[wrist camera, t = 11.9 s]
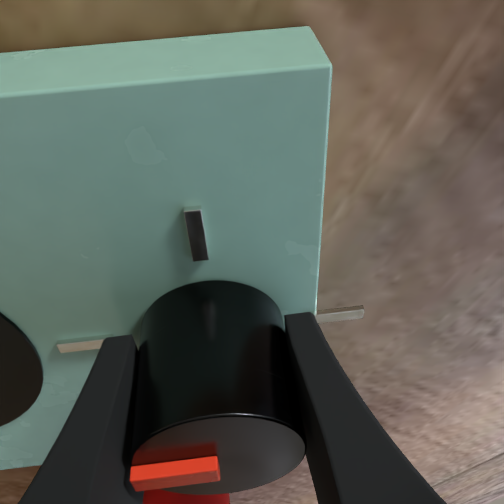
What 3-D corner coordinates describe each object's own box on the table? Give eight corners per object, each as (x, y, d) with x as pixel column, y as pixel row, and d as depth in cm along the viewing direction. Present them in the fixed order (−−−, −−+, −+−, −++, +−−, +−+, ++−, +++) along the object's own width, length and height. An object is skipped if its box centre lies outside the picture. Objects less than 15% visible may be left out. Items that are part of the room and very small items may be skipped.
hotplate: (370, 19, 9) (407, 61, 8) (329, 378, 18) (343, 432, 17) (-501, 96, 9) (-653, 158, 7) (-103, 430, 18) (-131, 491, 16)
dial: (282, 271, 11) (313, 420, 8) (283, 359, 13) (308, 497, 11) (125, 288, 11) (106, 446, 8) (155, 375, 13) (148, 518, 11)
